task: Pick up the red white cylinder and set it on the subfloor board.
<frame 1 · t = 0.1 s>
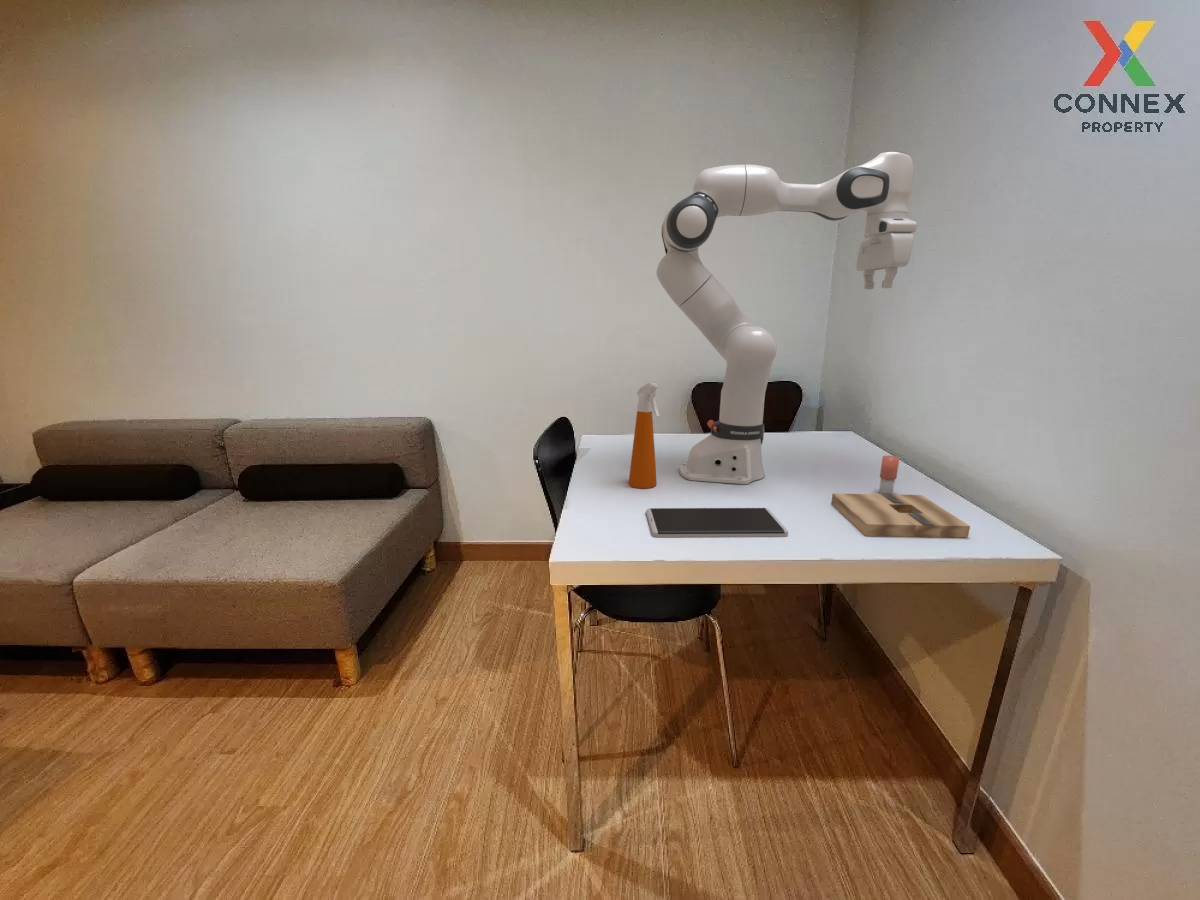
hand: (877, 288, 135), 48 cm above the table, fingers open, 8 cm apart
subfloor board: (894, 519, 118), on the table
spray bottle: (645, 487, 138), on the table
smartphone: (713, 527, 115), on the table
red white cylinder: (885, 493, 134), on the table
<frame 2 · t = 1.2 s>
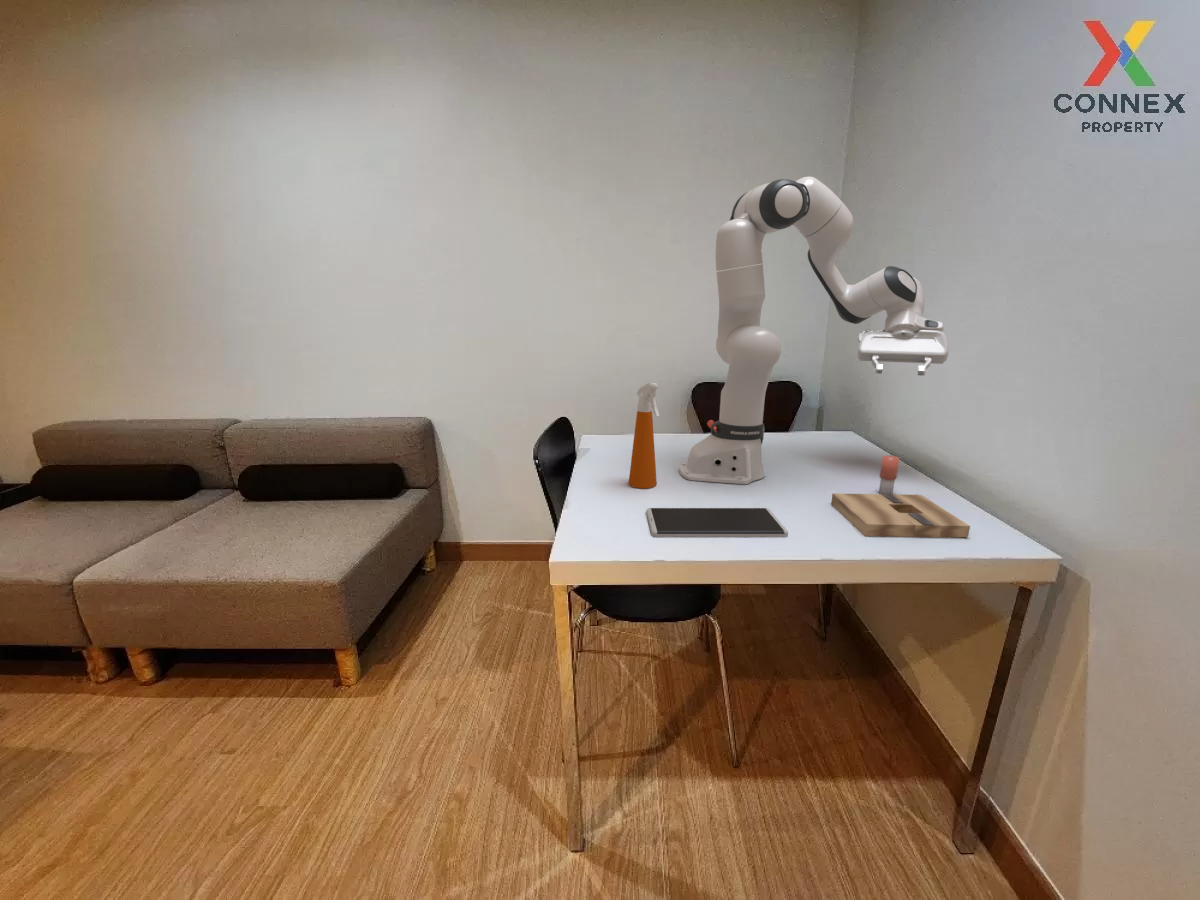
hand: (899, 373, 138), 28 cm above the table, fingers open, 8 cm apart
nothing on the table moved.
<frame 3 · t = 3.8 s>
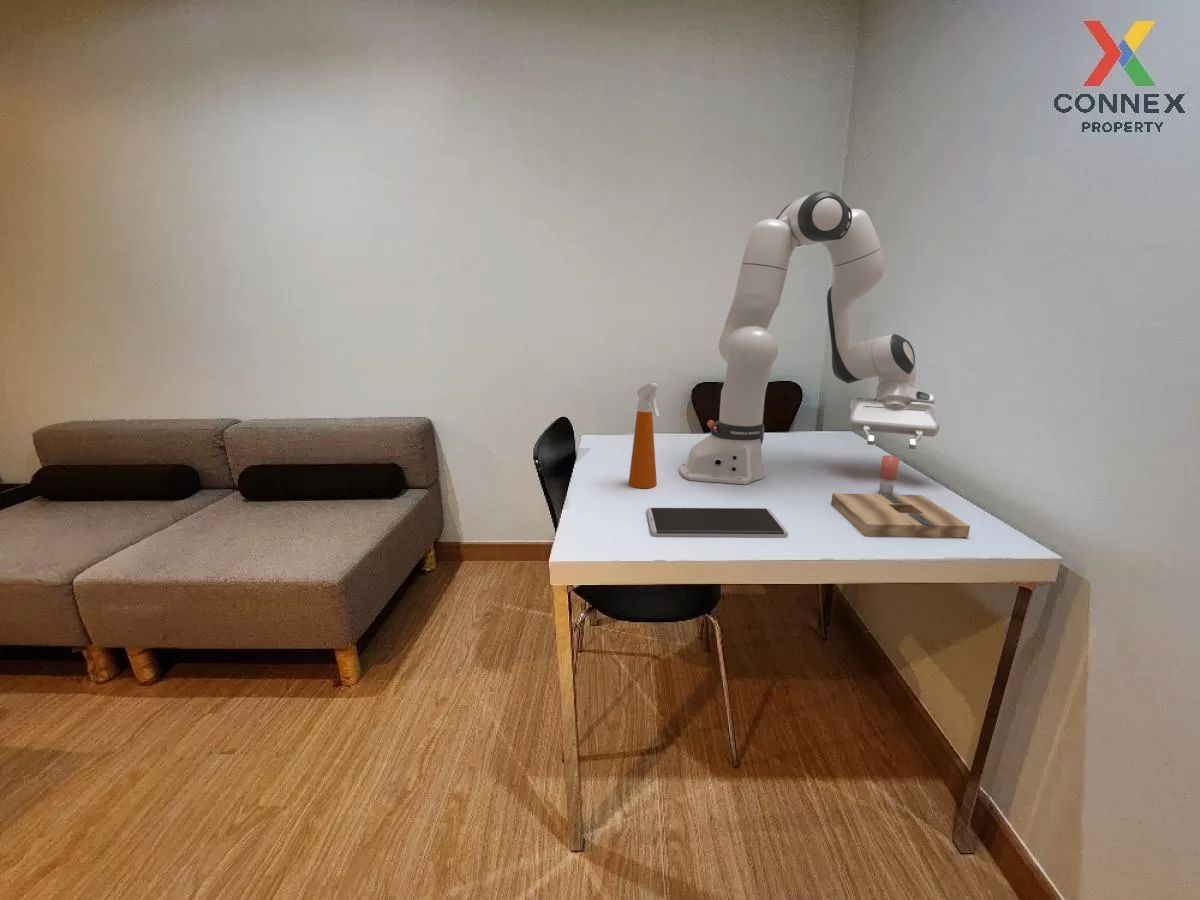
hand: (890, 445, 137), 10 cm above the table, fingers open, 8 cm apart
nothing on the table moved.
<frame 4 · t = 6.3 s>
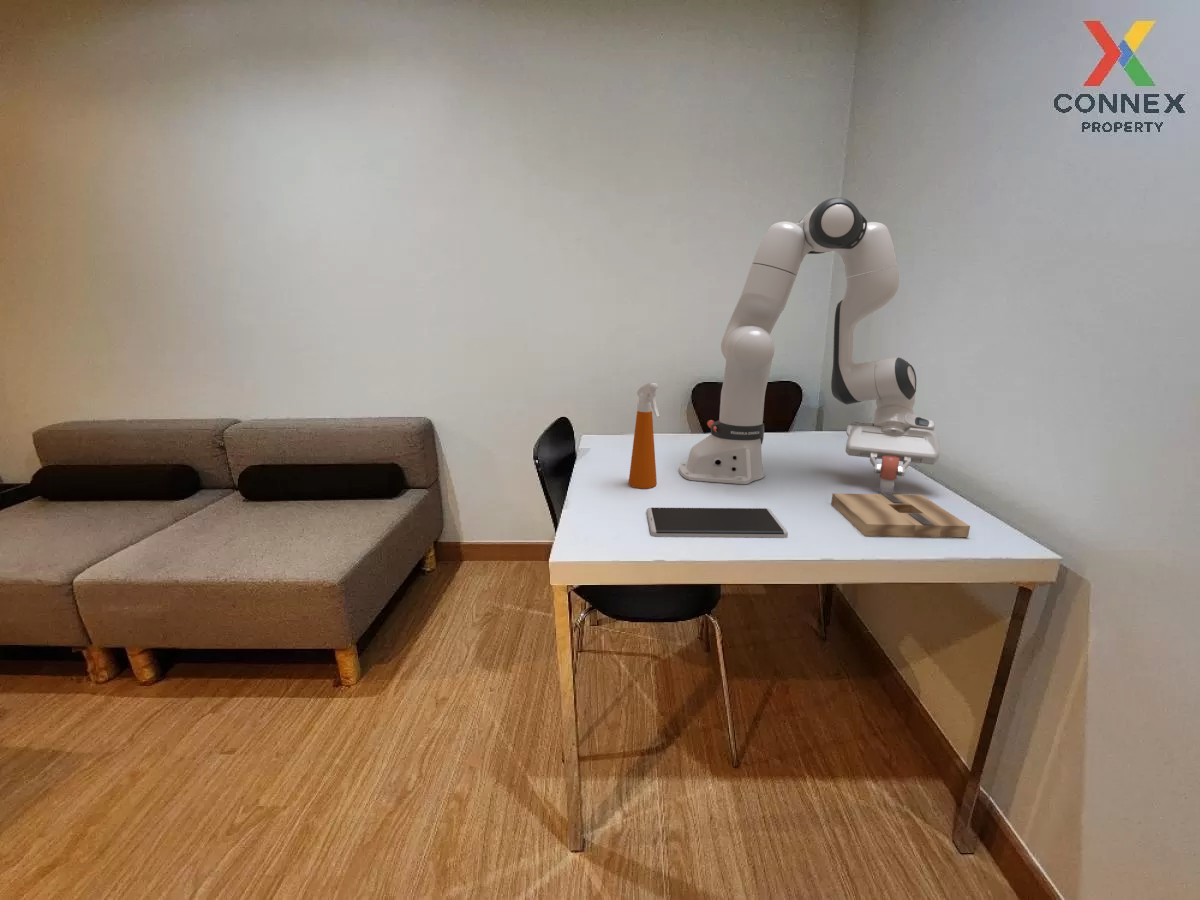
hand: (888, 473, 132), 5 cm above the table, fingers closed on red white cylinder, 4 cm apart
red white cylinder: (885, 493, 134), on the table, touching gripper
everything else where it was.
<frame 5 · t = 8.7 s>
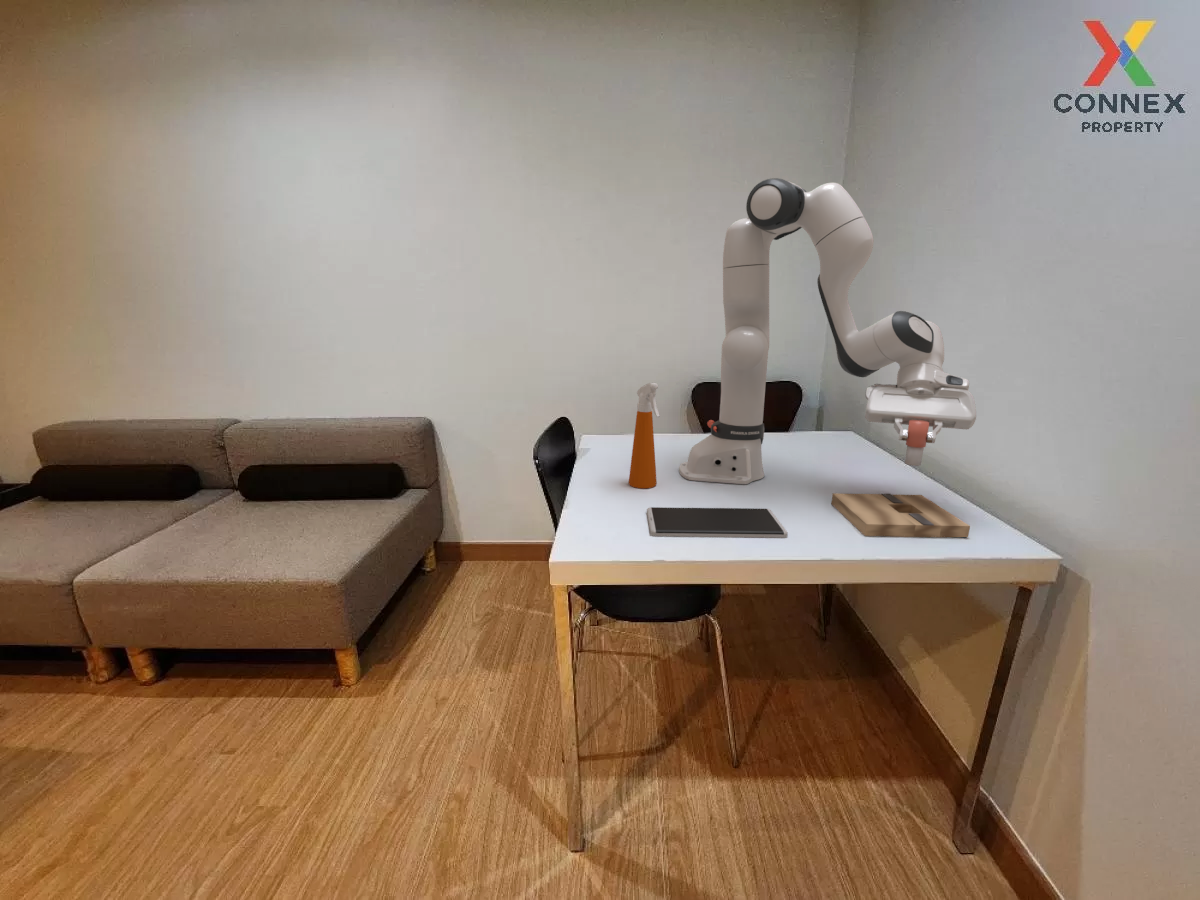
hand: (916, 440, 114), 17 cm above the table, fingers closed on red white cylinder, 4 cm apart
red white cylinder: (912, 463, 116), point 12 cm above the table, touching gripper
everything else where it was.
when the fingers open (7 cm above the table, at t = 11.1 s): red white cylinder drops 1 cm, resting on subfloor board.
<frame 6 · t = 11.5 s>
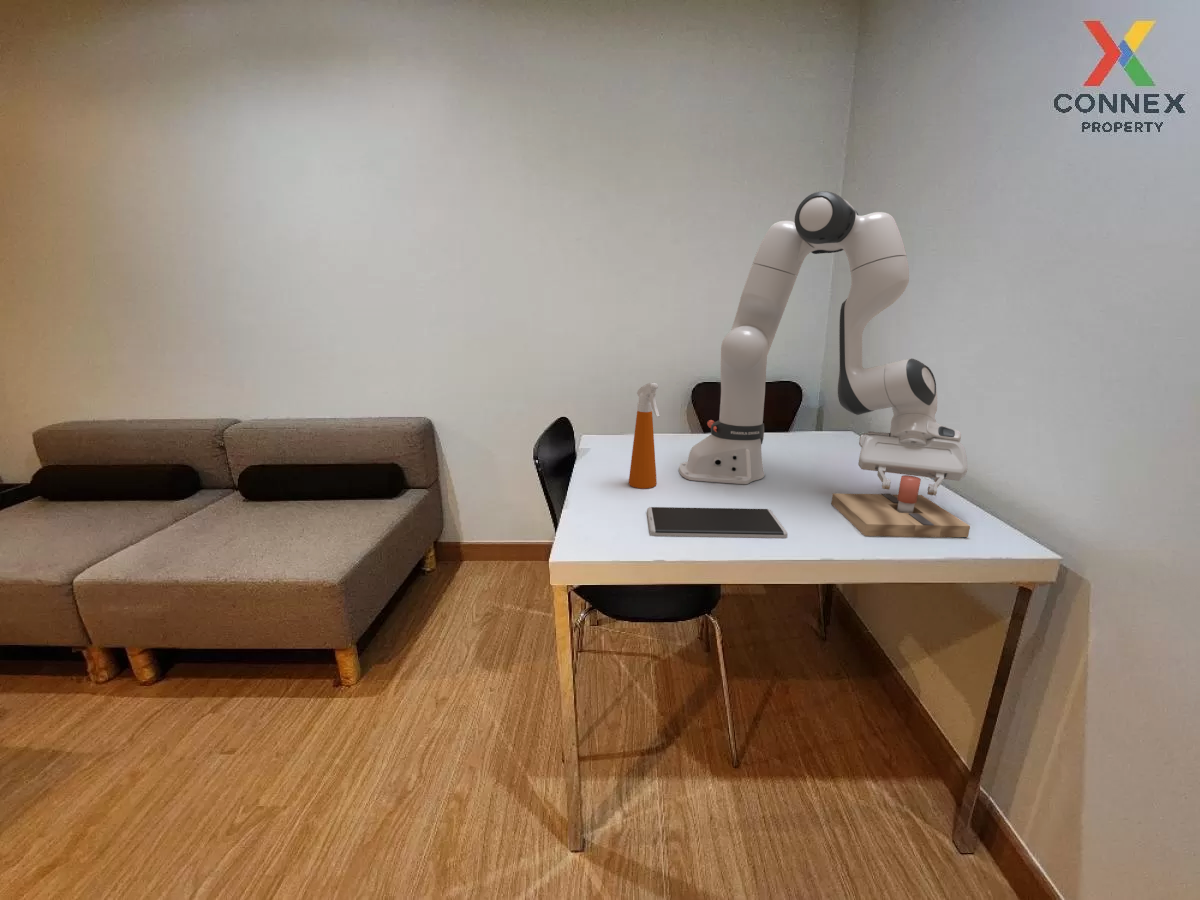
hand: (908, 490, 115), 7 cm above the table, fingers open, 7 cm apart
red white cylinder: (903, 518, 118), resting on subfloor board
everything else where it was.
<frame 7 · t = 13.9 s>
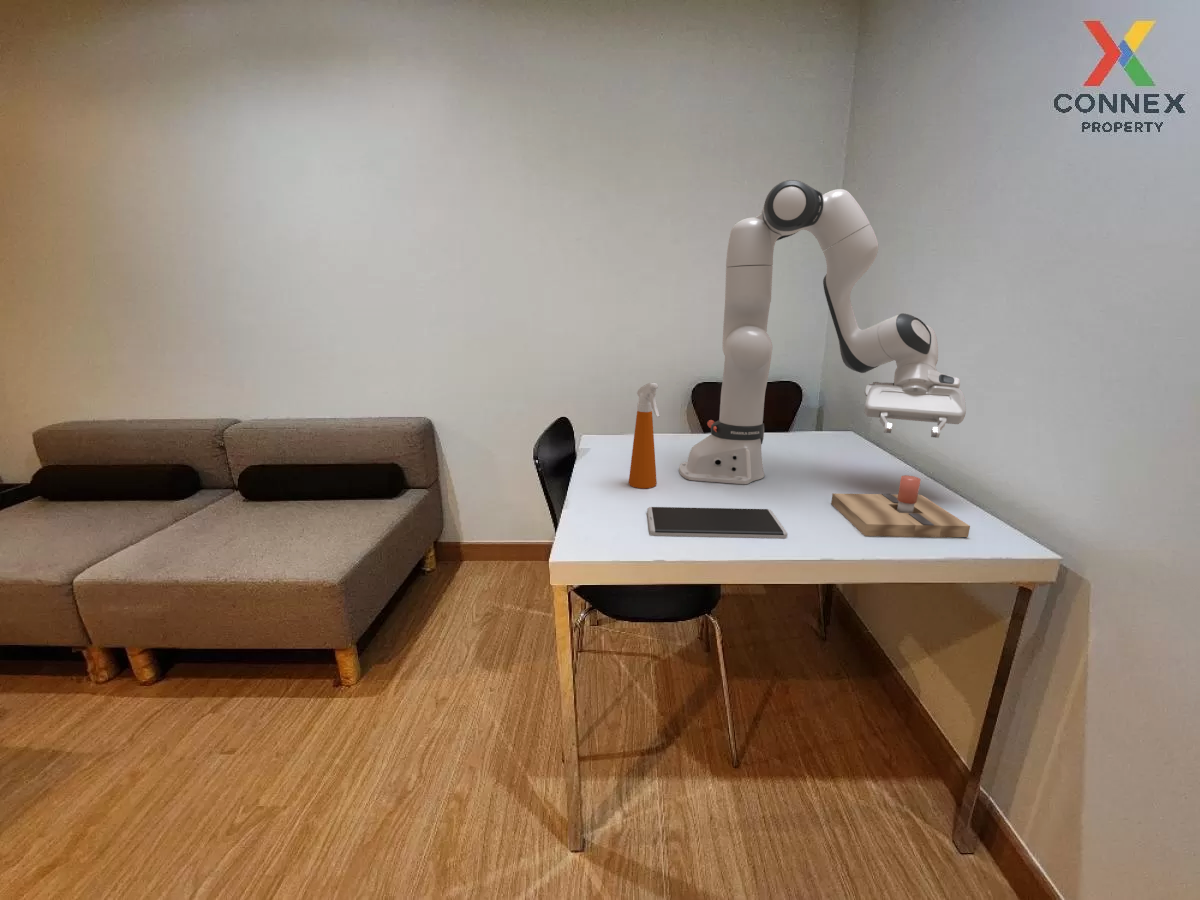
hand: (911, 433, 124), 16 cm above the table, fingers open, 8 cm apart
nothing on the table moved.
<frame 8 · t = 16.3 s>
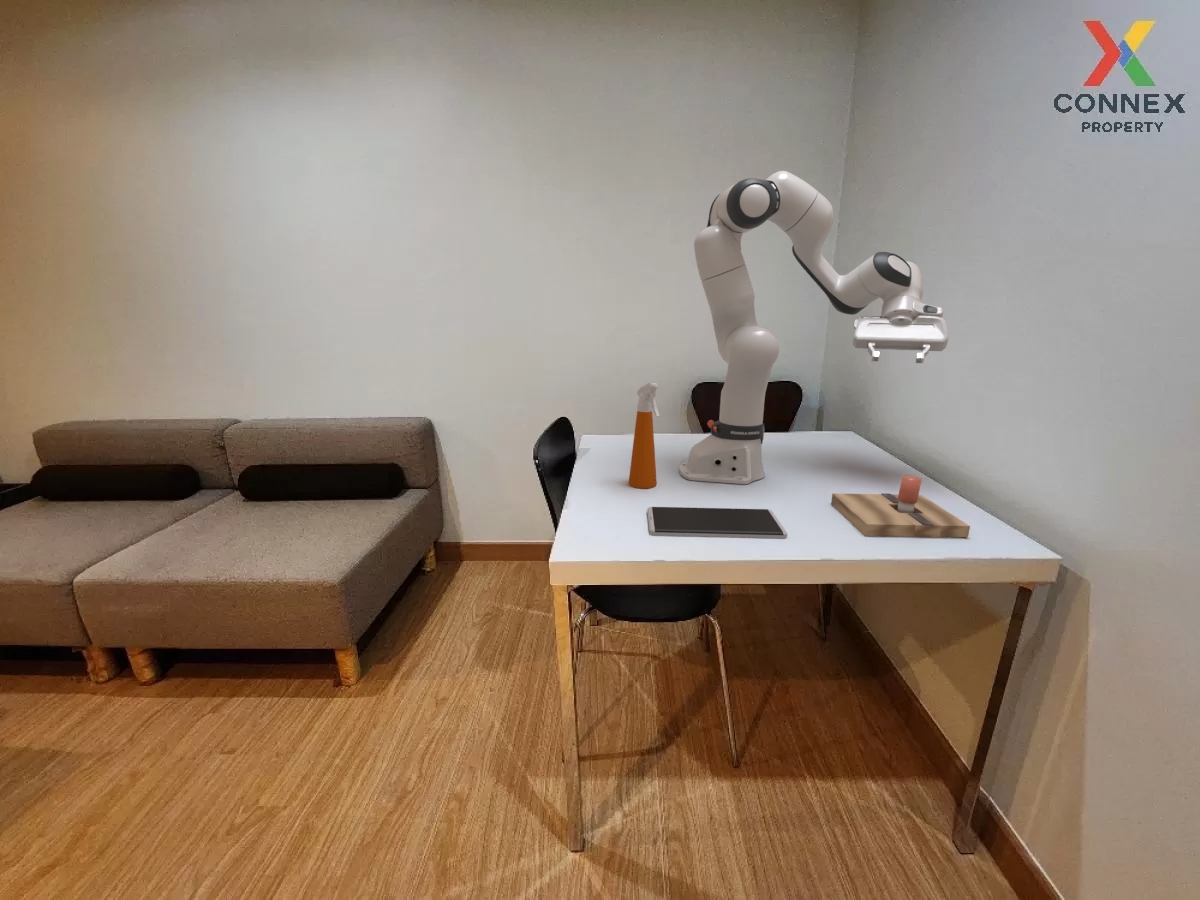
hand: (897, 360, 131), 31 cm above the table, fingers open, 8 cm apart
nothing on the table moved.
at the end: red white cylinder 0.1 cm from the target spot on the subfloor board, point 0.4 cm above the subfloor board's base; red white cylinder tilted 2°; the gripper is holding nothing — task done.
